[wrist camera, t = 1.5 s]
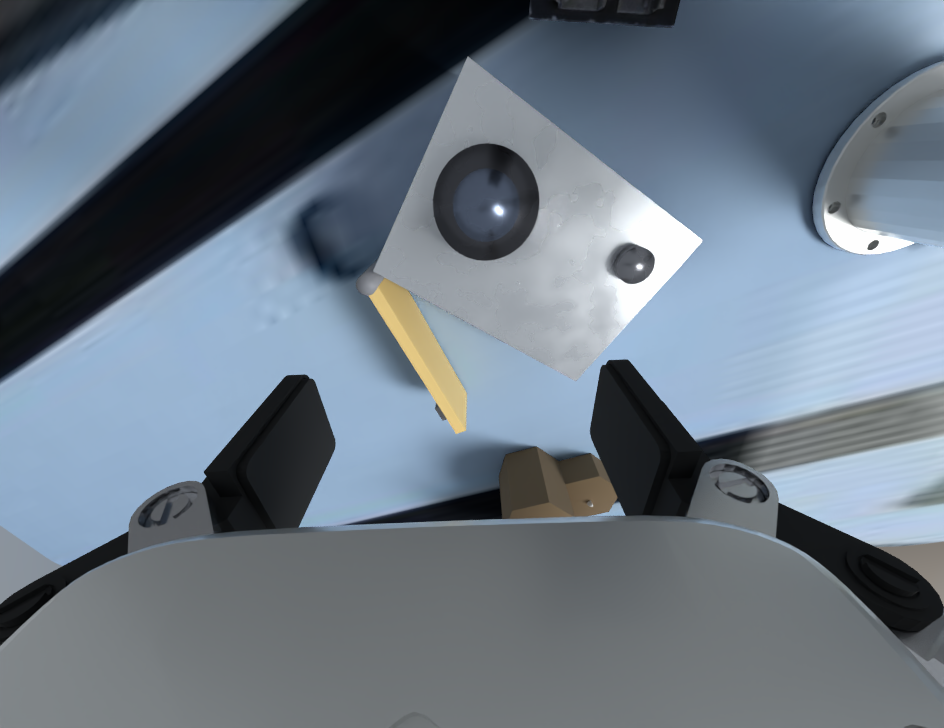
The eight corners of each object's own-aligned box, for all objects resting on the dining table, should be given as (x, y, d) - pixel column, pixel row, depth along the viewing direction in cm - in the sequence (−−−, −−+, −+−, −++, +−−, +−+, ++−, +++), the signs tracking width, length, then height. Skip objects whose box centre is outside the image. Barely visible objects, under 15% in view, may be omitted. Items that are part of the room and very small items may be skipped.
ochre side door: (468, 391, 36) (467, 434, 31) (448, 399, 37) (444, 442, 31) (389, 250, 29) (368, 272, 23) (365, 262, 29) (339, 286, 24)
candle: (579, 522, 49) (618, 652, 36) (487, 512, 47) (492, 643, 35) (616, 456, 42) (681, 587, 29) (509, 442, 40) (526, 573, 28)
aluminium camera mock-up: (656, 224, 28) (713, 244, 21) (557, 346, 34) (578, 390, 27) (468, 81, 23) (467, 50, 17) (391, 251, 29) (368, 277, 22)
